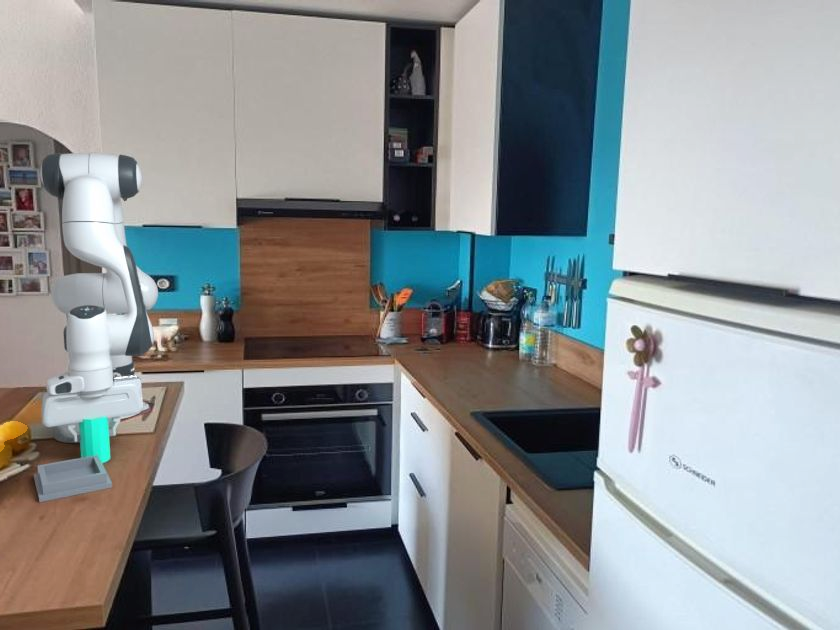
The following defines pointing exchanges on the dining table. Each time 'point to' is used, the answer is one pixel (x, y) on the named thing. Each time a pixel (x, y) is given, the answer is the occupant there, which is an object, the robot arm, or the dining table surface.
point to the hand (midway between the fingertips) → (95, 438)
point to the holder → (71, 478)
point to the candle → (95, 438)
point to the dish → (69, 432)
